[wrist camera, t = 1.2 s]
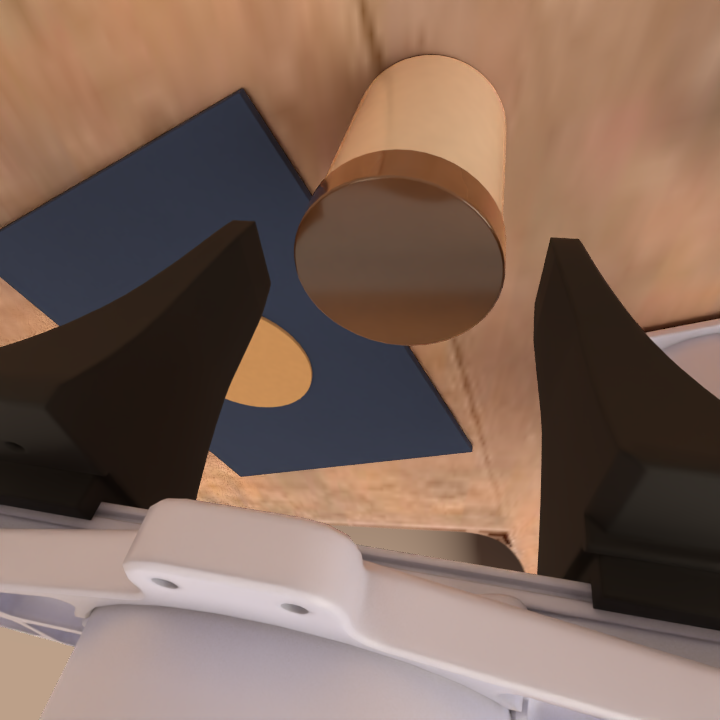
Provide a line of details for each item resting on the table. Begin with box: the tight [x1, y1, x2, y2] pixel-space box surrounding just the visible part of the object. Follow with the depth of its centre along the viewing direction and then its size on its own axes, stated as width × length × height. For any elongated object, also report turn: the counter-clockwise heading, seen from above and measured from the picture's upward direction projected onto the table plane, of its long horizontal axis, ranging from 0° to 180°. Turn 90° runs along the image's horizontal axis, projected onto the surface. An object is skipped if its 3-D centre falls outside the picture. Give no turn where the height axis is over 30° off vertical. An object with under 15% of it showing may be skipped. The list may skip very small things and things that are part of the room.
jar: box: [294, 55, 506, 346], centre depth 15 cm, size 5×5×7 cm
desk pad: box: [0, 88, 473, 477], centre depth 28 cm, size 22×18×1 cm
